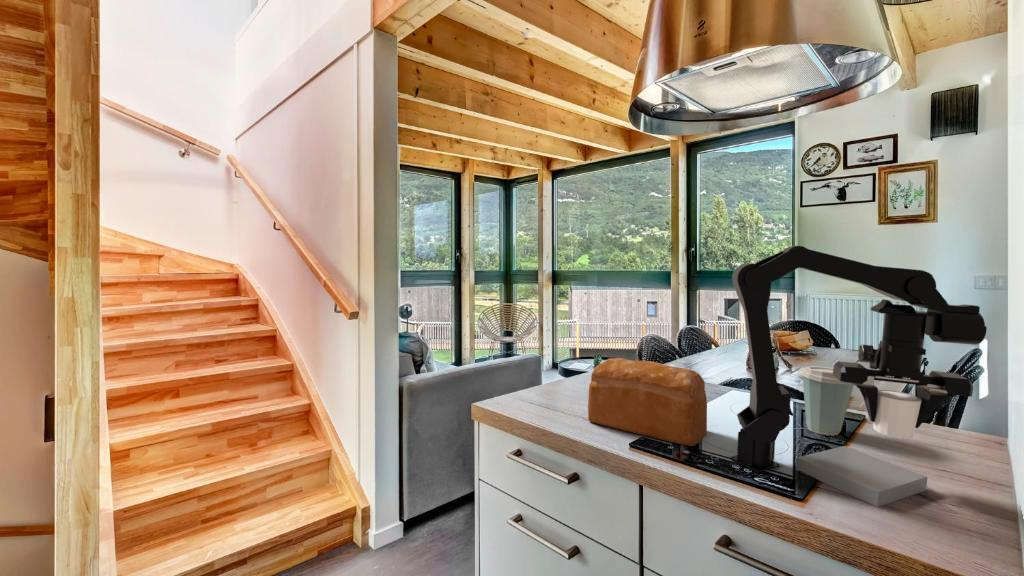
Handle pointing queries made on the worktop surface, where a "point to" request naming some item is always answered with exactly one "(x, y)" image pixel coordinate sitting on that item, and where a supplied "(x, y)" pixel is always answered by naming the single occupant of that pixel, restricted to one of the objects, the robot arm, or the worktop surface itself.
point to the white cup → (896, 413)
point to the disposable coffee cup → (825, 400)
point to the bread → (649, 400)
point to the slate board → (862, 475)
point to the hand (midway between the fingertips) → (893, 424)
